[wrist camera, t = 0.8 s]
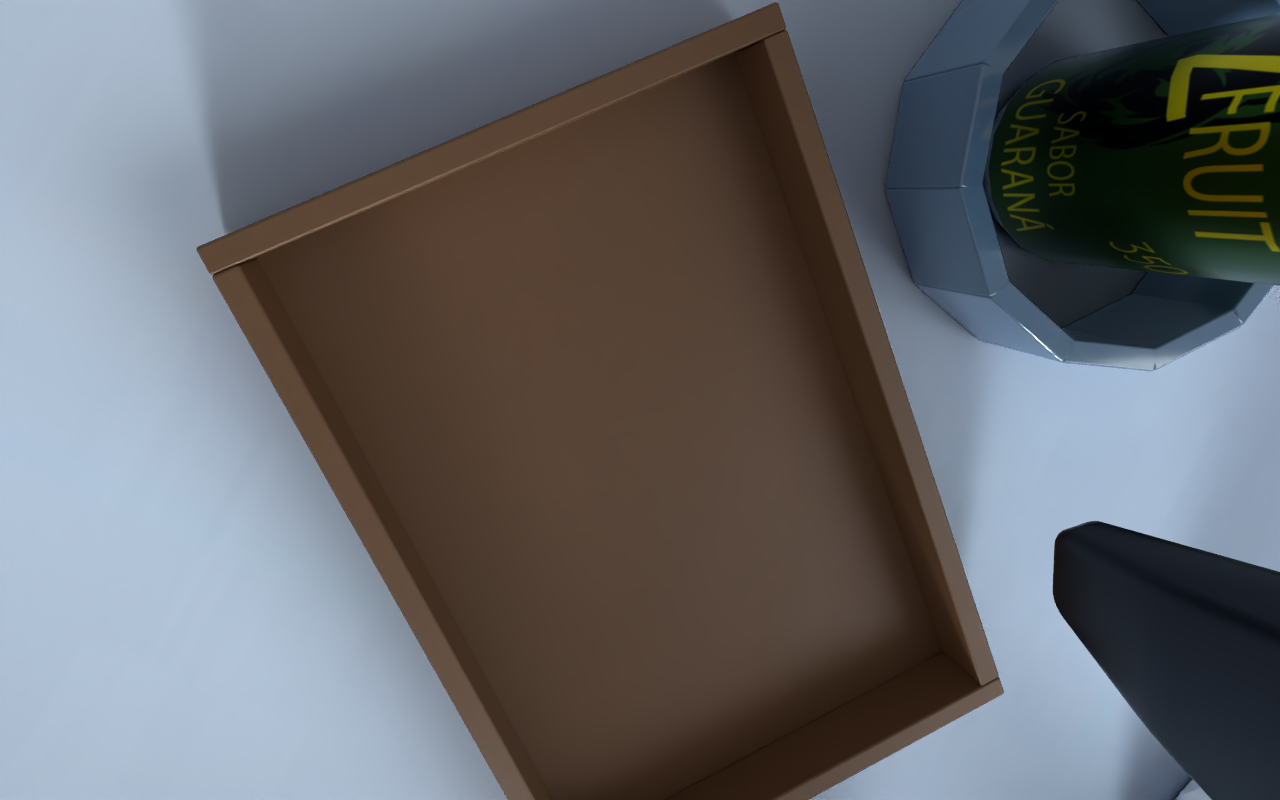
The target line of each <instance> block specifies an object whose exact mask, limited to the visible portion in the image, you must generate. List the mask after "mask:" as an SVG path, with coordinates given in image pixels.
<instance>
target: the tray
mask: <svg viewBox="0 0 1280 800" xmlns="http://www.w3.org/2000/svg"><path fill="white" fill-rule="evenodd" d="M785 29H786V26H785V23H784V20H783V17H782V14H781V11H780V8H779V4H778V3H776V2H775V3H772V4H770V5H768V6H765V7H763V8H761V9H758V10H756V11H754V12H751V13H749V14H746V15H744V16H742V17H739V18H737V19H735V20H732V21H730V22H728V23H725V24H723V25H721V26H718V27H716V28H713V29H711V30H709V31H706V32H704V33H702V34H699V35H697V36H695V37H692V38H690V39H687V40H685V41H683V42H680V43H678V44H676V45H673V46H671V47H669V48H666V49H664V50H661V51H659V52H657V53H654V54H652V55H650V56H647V57H645V58H643V59H640V60H638V61H636V62H633V63H631V64H628V65H626V66H624V67H621V68H619V69H617V70H614V71H612V72H610V73H607V74H605V75H602V76H600V77H598V78H595V79H593V80H591V81H588V82H586V83H584V84H581V85H579V86H576V87H574V88H572V89H569V90H567V91H565V92H562V93H560V94H558V95H555V96H553V97H551V98H548V99H546V100H543V101H541V102H539V103H536V104H534V105H532V106H529V107H527V108H525V109H522V110H520V111H517V112H515V113H513V114H510V115H508V116H506V117H503V118H501V119H499V120H496V121H494V122H492V123H489V124H487V125H484V126H482V127H480V128H477V129H475V130H473V131H470V132H468V133H466V134H463V135H461V136H458V137H456V138H454V139H451V140H449V141H447V142H444V143H442V144H440V145H437V146H435V147H432V148H430V149H428V150H425V151H423V152H421V153H418V154H416V155H414V156H411V157H409V158H407V159H404V160H402V161H399V162H397V163H395V164H392V165H390V166H388V167H385V168H383V169H381V170H378V171H376V172H373V173H371V174H369V175H366V176H364V177H362V178H359V179H357V180H355V181H352V182H350V183H347V184H345V185H343V186H340V187H338V188H336V189H333V190H331V191H329V192H326V193H324V194H322V195H319V196H317V197H314V198H312V199H310V200H307V201H305V202H303V203H300V204H298V205H296V206H293V207H291V208H288V209H286V210H284V211H281V212H279V213H277V214H274V215H272V216H270V217H267V218H265V219H262V220H260V221H258V222H255V223H253V224H251V225H248V226H246V227H244V228H241V229H239V230H237V231H234V232H232V233H229V234H227V235H225V236H222V237H220V238H218V239H215V240H213V241H211V242H208V243H206V244H203V245H201V246H199V247H197V252H198V254H199V255H200V257H201V259H202V261H203V263H204V264H205V266H206V268H207V270H208V271H209V273H210V274H214V275H213V280H214V282H215V283H216V285H217V287H218V289H219V290H220V292H221V294H222V296H223V298H224V299H225V301H226V303H227V305H228V306H229V308H230V310H231V312H232V313H233V315H234V317H235V319H236V320H237V322H238V324H239V326H240V328H241V329H242V331H243V333H244V335H245V336H246V338H247V340H248V342H249V343H250V345H251V347H252V349H253V350H254V352H255V354H256V356H257V358H258V359H259V361H260V363H261V365H262V366H263V368H264V370H265V372H266V373H267V375H268V377H269V379H270V380H271V382H272V384H273V386H274V388H275V389H276V391H277V393H278V395H279V396H280V398H281V400H282V402H283V403H284V405H285V407H286V409H287V410H288V412H289V414H290V416H291V418H292V419H293V421H294V423H295V425H296V426H297V428H298V430H299V432H300V433H301V435H302V437H303V439H304V440H305V442H306V444H307V446H308V448H309V449H310V451H311V453H312V455H313V456H314V458H315V460H316V462H317V463H318V465H319V467H320V469H321V470H322V472H323V474H324V476H325V478H326V479H327V481H328V483H329V485H330V486H331V488H332V490H333V492H334V493H335V495H336V497H337V499H338V500H339V502H340V504H341V506H342V508H343V509H344V511H345V513H346V515H347V516H348V518H349V520H350V522H351V523H352V525H353V527H354V529H355V530H356V532H357V534H358V536H359V538H360V539H361V541H362V543H363V545H364V546H365V548H366V550H367V552H368V553H369V555H370V557H371V559H372V560H373V562H374V564H375V566H376V568H377V569H378V571H379V573H380V575H381V576H382V578H383V580H384V582H385V583H386V585H387V587H388V589H389V590H390V592H391V594H392V596H393V598H394V599H395V601H396V603H397V605H398V606H399V608H400V610H401V612H402V613H403V615H404V617H405V619H406V620H407V622H408V624H409V626H410V628H411V629H412V631H413V633H414V635H415V636H416V638H417V640H418V642H419V643H420V645H421V647H422V649H423V650H424V652H425V654H426V656H427V658H428V659H429V661H430V663H431V665H432V666H433V668H434V670H435V672H436V673H437V675H438V677H439V679H440V680H441V682H442V684H443V686H444V688H445V689H446V691H447V693H448V695H449V696H450V698H451V700H452V702H453V703H454V705H455V707H456V709H457V710H458V712H459V714H460V716H461V718H462V719H463V721H464V723H465V725H466V726H467V728H468V730H469V732H470V733H471V735H472V737H473V739H474V740H475V742H476V744H477V746H478V748H479V749H480V751H481V753H482V755H483V756H484V758H485V760H486V762H487V763H488V765H489V767H490V769H491V770H492V772H493V774H494V776H495V778H496V779H497V781H498V783H499V785H500V786H501V788H502V790H503V792H504V793H505V795H506V797H507V799H508V800H809V799H810V798H812V797H814V796H816V795H818V794H820V793H821V792H823V791H825V790H827V789H829V788H831V787H832V786H834V785H836V784H838V783H840V782H842V781H844V780H845V779H847V778H849V777H851V776H853V775H855V774H856V773H858V772H860V771H862V770H864V769H866V768H867V767H869V766H871V765H873V764H875V763H877V762H879V761H880V760H882V759H884V758H886V757H888V756H890V755H891V754H893V753H895V752H897V751H899V750H901V749H902V748H904V747H906V746H908V745H910V744H912V743H913V742H915V741H917V740H919V739H921V738H923V737H925V736H926V735H928V734H930V733H932V732H934V731H936V730H937V729H939V728H941V727H943V726H945V725H947V724H948V723H950V722H952V721H954V720H956V719H958V718H960V717H961V716H963V715H965V714H967V713H969V712H971V711H972V710H974V709H976V708H978V707H980V706H982V705H983V704H985V703H987V702H989V701H991V700H993V699H994V698H996V697H998V696H1000V695H1002V694H1003V693H1004V691H1003V688H1002V685H1001V682H1000V679H999V677H998V676H999V675H998V672H997V669H996V666H995V663H994V660H993V657H992V654H991V651H990V648H989V645H988V642H987V638H986V635H985V632H984V629H983V626H982V623H981V620H980V617H979V614H978V611H977V608H976V605H975V602H974V599H973V596H972V593H971V590H970V587H969V584H968V581H967V578H966V574H965V571H964V568H963V565H962V562H961V559H960V556H959V553H958V550H957V547H956V544H955V541H954V538H953V535H952V532H951V529H950V526H949V523H948V520H947V517H946V514H945V510H944V507H943V504H942V501H941V498H940V495H939V492H938V489H937V486H936V483H935V480H934V477H933V474H932V471H931V468H930V465H929V462H928V459H927V456H926V453H925V450H924V446H923V443H922V440H921V437H920V434H919V431H918V428H917V425H916V422H915V419H914V416H913V413H912V410H911V407H910V404H909V401H908V398H907V395H906V392H905V389H904V386H903V382H902V379H901V376H900V373H899V370H898V367H897V364H896V361H895V358H894V355H893V352H892V349H891V346H890V343H889V340H888V337H887V334H886V331H885V328H884V325H883V321H882V318H881V315H880V312H879V309H878V306H877V303H876V300H875V297H874V294H873V291H872V288H871V285H870V282H869V279H868V276H867V273H866V270H865V267H864V264H863V261H862V257H861V254H860V251H859V248H858V245H857V242H856V239H855V236H854V233H853V230H852V227H851V224H850V221H849V218H848V215H847V212H846V209H845V206H844V203H843V200H842V197H841V193H840V190H839V187H838V184H837V181H836V178H835V175H834V172H833V169H832V166H831V163H830V160H829V157H828V154H827V151H826V148H825V145H824V142H823V139H822V136H821V133H820V129H819V126H818V123H817V120H816V117H815V114H814V111H813V108H812V105H811V102H810V99H809V96H808V93H807V90H806V87H805V84H804V81H803V78H802V75H801V72H800V68H799V65H798V62H797V59H796V56H795V53H794V50H793V47H792V44H791V41H790V38H789V35H788V32H787V30H785Z"/></svg>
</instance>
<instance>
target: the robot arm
mask: <svg viewBox="0 0 1280 800" xmlns="http://www.w3.org/2000/svg"><path fill="white" fill-rule="evenodd" d="M1053 596H1054V600H1055V603H1056V606H1057V608H1058V610H1059V612H1060V613H1061V615H1062V616H1063V618H1064V619H1065V621H1066V622H1067V623H1068V624H1069V626H1070V627H1071V628H1072V630H1073V631H1074V632H1075V634H1076V635H1077V636H1078V638H1079V639H1080V640H1081V642H1082V643H1083V644H1084V646H1085V647H1086V648H1087V650H1088V651H1089V652H1090V654H1091V655H1092V656H1093V658H1094V659H1095V660H1096V662H1097V663H1098V664H1099V666H1100V667H1101V668H1102V670H1103V671H1104V672H1105V673H1106V675H1107V676H1108V677H1109V679H1110V680H1111V681H1112V683H1113V684H1114V685H1115V687H1116V688H1117V689H1118V691H1119V692H1120V693H1121V695H1122V696H1123V697H1124V699H1125V700H1126V701H1127V703H1128V704H1129V705H1130V707H1131V708H1132V709H1133V711H1134V712H1135V713H1136V715H1137V716H1138V717H1139V718H1140V719H1141V721H1142V722H1143V723H1144V724H1145V726H1146V727H1147V728H1148V729H1149V731H1150V732H1151V733H1152V734H1153V736H1154V737H1155V738H1156V739H1157V740H1158V741H1159V742H1160V744H1161V745H1162V746H1163V747H1164V748H1165V749H1166V750H1167V752H1168V753H1169V754H1170V755H1171V756H1172V757H1173V758H1174V759H1175V760H1176V761H1177V763H1178V764H1179V765H1180V766H1181V767H1182V768H1183V769H1184V770H1185V771H1186V772H1187V773H1188V775H1189V776H1190V777H1191V778H1192V779H1193V780H1194V781H1195V782H1196V783H1197V784H1198V785H1199V787H1200V788H1201V789H1202V790H1203V791H1204V792H1205V793H1206V794H1207V795H1208V796H1209V797H1210V799H1211V800H1280V572H1278V571H1274V570H1271V569H1267V568H1264V567H1260V566H1256V565H1253V564H1249V563H1246V562H1242V561H1239V560H1235V559H1231V558H1228V557H1224V556H1221V555H1217V554H1214V553H1210V552H1207V551H1203V550H1199V549H1196V548H1192V547H1189V546H1185V545H1182V544H1178V543H1174V542H1171V541H1167V540H1164V539H1160V538H1157V537H1153V536H1150V535H1146V534H1142V533H1139V532H1135V531H1132V530H1128V529H1125V528H1121V527H1117V526H1114V525H1110V524H1107V523H1103V522H1099V521H1091V522H1086V523H1083V524H1080V525H1077V526H1075V527H1072V528H1069V529H1066V530H1063V531H1062V532H1060V533H1059V534H1058V536H1057V538H1056V540H1055V547H1054V572H1053Z"/></svg>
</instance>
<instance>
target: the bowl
mask: <svg viewBox="0 0 1280 800" xmlns="http://www.w3.org/2000/svg"><path fill="white" fill-rule="evenodd" d="M1057 1H1058V0H963V1H962V2H961V3H960V5H959V6H958V7H957V9H956V10H955V11H954V13H953V14H952V16H951V17H950V18H949V20H948V21H947V22H946V24H945V25H944V26H943V28H942V29H941V31H940V32H939V33H938V35H937V36H936V37H935V39H934V40H933V41H932V43H931V44H930V46H929V47H928V48H927V50H926V51H925V52H924V54H923V55H922V57H921V58H920V59H919V61H918V62H917V63H916V65H915V66H914V67H913V69H912V70H911V72H910V73H909V74H908V76H907V77H906V78H905V80H904V81H905V82H904V84H903V88H902V94H901V100H900V106H899V111H898V117H897V123H896V129H895V134H894V140H893V146H892V152H891V158H890V163H889V169H888V175H887V181H886V188H887V189H886V190H885V192H886V195H887V198H888V201H889V204H890V208H891V211H892V214H893V217H894V221H895V224H896V227H897V230H898V233H899V237H900V240H901V243H902V246H903V249H904V253H905V256H906V259H907V262H908V265H909V269H910V272H911V275H912V278H913V281H914V283H915V285H916V286H917V287H918V288H920V289H921V290H922V291H923V292H924V293H925V294H927V295H928V296H929V297H930V298H931V299H932V300H933V301H935V302H936V303H937V304H938V305H939V306H940V307H942V308H943V309H944V310H945V311H946V312H947V313H948V314H950V315H951V316H952V317H953V318H954V319H955V320H957V321H958V322H959V323H960V324H961V325H962V326H963V327H965V328H966V329H967V330H968V331H969V332H970V333H971V334H973V335H974V336H975V337H976V338H977V339H978V340H981V341H983V342H987V343H991V344H995V345H999V346H1002V347H1006V348H1010V349H1014V350H1017V351H1021V352H1025V353H1029V354H1032V355H1036V356H1040V357H1044V358H1048V359H1051V360H1055V361H1059V362H1063V363H1071V364H1081V365H1092V366H1102V367H1113V368H1123V369H1133V370H1144V371H1153V370H1157V369H1159V368H1161V367H1163V366H1165V365H1167V364H1169V363H1170V362H1172V361H1174V360H1176V359H1178V358H1180V357H1182V356H1184V355H1186V354H1188V353H1190V352H1192V351H1194V350H1196V349H1198V348H1200V347H1202V346H1204V345H1206V344H1208V343H1210V342H1212V341H1214V340H1216V339H1218V338H1220V337H1222V336H1224V335H1226V334H1228V333H1230V332H1232V331H1234V330H1236V329H1238V328H1240V327H1241V325H1243V324H1244V323H1245V322H1246V321H1247V319H1248V318H1249V317H1250V315H1251V314H1252V313H1253V312H1254V310H1255V309H1256V308H1257V306H1258V305H1259V304H1260V302H1261V301H1262V300H1263V299H1264V297H1265V296H1266V295H1267V293H1268V292H1269V291H1270V289H1271V288H1272V287H1273V285H1269V284H1260V283H1251V282H1242V281H1232V280H1223V279H1214V278H1205V277H1195V276H1186V275H1177V274H1167V273H1158V272H1148V273H1147V274H1146V276H1145V277H1144V278H1143V279H1142V281H1141V282H1140V283H1139V285H1138V286H1137V287H1136V289H1135V290H1134V291H1133V293H1132V294H1131V295H1129V296H1127V297H1125V298H1123V299H1121V300H1119V301H1117V302H1115V303H1113V304H1111V305H1109V306H1107V307H1105V308H1103V309H1101V310H1099V311H1097V312H1094V313H1092V314H1090V315H1088V316H1086V317H1084V318H1082V319H1080V320H1078V321H1076V322H1074V323H1072V324H1070V325H1068V326H1066V327H1064V328H1060V327H1059V326H1058V325H1056V324H1055V323H1054V322H1053V321H1052V320H1051V319H1050V318H1049V317H1048V316H1047V315H1046V314H1044V313H1043V312H1042V311H1041V310H1040V309H1039V308H1038V307H1037V306H1036V305H1035V304H1033V303H1032V302H1031V301H1030V300H1029V299H1028V298H1027V297H1026V296H1025V295H1024V294H1023V293H1021V292H1020V291H1019V290H1018V289H1017V288H1016V287H1015V286H1014V285H1013V284H1012V283H1011V282H1009V278H1008V274H1007V271H1006V267H1005V264H1004V260H1003V256H1002V253H1001V249H1000V246H999V242H998V238H997V235H996V231H995V227H994V224H993V220H992V217H991V213H990V209H989V206H988V202H987V199H986V195H985V191H984V188H983V184H982V182H983V177H984V172H985V167H986V162H987V157H988V152H989V147H990V141H991V136H992V131H993V126H994V121H995V116H996V111H997V105H998V100H999V95H1000V90H1001V85H1002V80H1003V75H1004V73H1005V72H1006V70H1007V69H1008V68H1009V66H1010V65H1011V64H1012V62H1013V61H1014V59H1015V58H1016V57H1017V55H1018V54H1019V53H1020V51H1021V50H1022V49H1023V47H1024V46H1025V45H1026V43H1027V42H1028V41H1029V39H1030V38H1031V36H1032V35H1033V34H1034V32H1035V31H1036V30H1037V28H1038V27H1039V26H1040V24H1041V23H1042V22H1043V20H1044V19H1045V18H1046V16H1047V15H1048V13H1049V12H1050V11H1051V9H1052V8H1053V7H1054V5H1055V4H1056V3H1057ZM1137 1H1138V2H1139V3H1140V4H1141V5H1142V6H1143V7H1144V9H1145V10H1146V11H1147V12H1148V13H1149V14H1150V15H1151V17H1152V18H1153V19H1154V20H1155V21H1156V22H1157V23H1158V25H1159V26H1160V27H1161V28H1162V29H1163V30H1164V32H1165V33H1166V34H1167V35H1168V36H1169V37H1170V36H1175V35H1179V34H1184V33H1189V32H1193V31H1198V30H1203V29H1207V28H1212V27H1217V26H1221V25H1226V24H1231V23H1235V22H1240V21H1245V20H1249V19H1254V18H1259V17H1264V16H1268V15H1273V14H1278V13H1280V0H1137Z"/></svg>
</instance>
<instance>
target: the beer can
mask: <svg viewBox="0 0 1280 800" xmlns="http://www.w3.org/2000/svg"><path fill="white" fill-rule="evenodd" d="M983 180H984V190H985V195H986V198H987V201H988V203H989V206H990V208H991V210H992V213H993V215H994V217H995V219H996V220H997V222H998V223H999V224H1000V225H1001V226H1002V227H1003V228H1004V229H1005V230H1006V232H1007V233H1008V234H1009V235H1010V236H1011V237H1012V238H1013V239H1014V240H1015V241H1016V242H1017V243H1018V244H1019V246H1020V247H1021V248H1023V249H1025V250H1026V251H1028V252H1030V253H1032V254H1034V255H1036V256H1038V257H1040V258H1042V259H1044V260H1047V261H1056V262H1065V263H1075V264H1084V265H1093V266H1103V267H1112V268H1121V269H1130V270H1140V271H1149V272H1158V273H1167V274H1177V275H1186V276H1195V277H1205V278H1214V279H1223V280H1232V281H1242V282H1251V283H1260V284H1269V285H1279V286H1280V13H1278V14H1273V15H1268V16H1264V17H1259V18H1254V19H1249V20H1245V21H1240V22H1235V23H1231V24H1226V25H1221V26H1217V27H1212V28H1207V29H1203V30H1198V31H1193V32H1189V33H1184V34H1179V35H1175V36H1170V37H1165V38H1160V39H1156V40H1151V41H1146V42H1142V43H1137V44H1132V45H1128V46H1123V47H1118V48H1114V49H1109V50H1104V51H1100V52H1095V53H1090V54H1085V55H1081V56H1077V57H1072V58H1068V59H1063V60H1059V61H1056V62H1054V63H1052V64H1051V65H1049V66H1048V67H1046V68H1044V69H1043V70H1041V71H1040V72H1038V73H1037V74H1035V75H1033V76H1032V77H1030V78H1029V79H1028V80H1027V81H1026V82H1025V83H1024V85H1023V86H1022V87H1021V88H1020V89H1019V90H1018V91H1017V92H1016V93H1015V95H1014V96H1013V97H1012V98H1011V99H1010V100H1009V102H1008V103H1007V104H1006V105H1005V106H1004V107H1003V109H1002V110H1001V111H1000V112H999V114H998V116H997V118H996V121H995V123H994V126H993V131H992V136H991V141H990V147H989V152H988V157H987V162H986V167H985V172H984V177H983Z"/></svg>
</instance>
